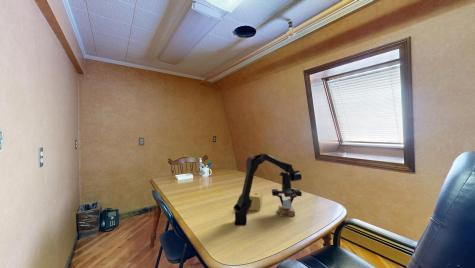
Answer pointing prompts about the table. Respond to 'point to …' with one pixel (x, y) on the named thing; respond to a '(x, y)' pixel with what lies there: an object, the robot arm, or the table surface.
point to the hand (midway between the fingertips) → (286, 205)
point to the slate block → (286, 203)
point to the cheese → (256, 201)
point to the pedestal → (286, 211)
